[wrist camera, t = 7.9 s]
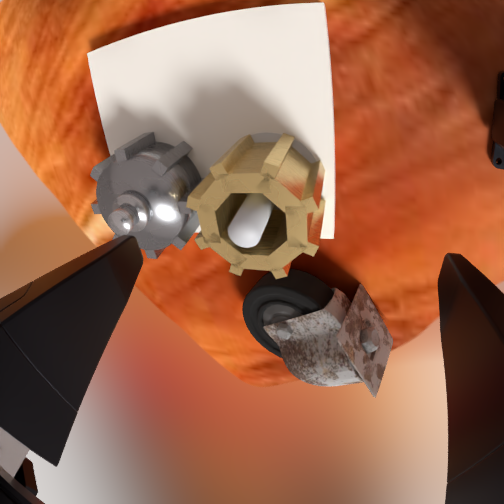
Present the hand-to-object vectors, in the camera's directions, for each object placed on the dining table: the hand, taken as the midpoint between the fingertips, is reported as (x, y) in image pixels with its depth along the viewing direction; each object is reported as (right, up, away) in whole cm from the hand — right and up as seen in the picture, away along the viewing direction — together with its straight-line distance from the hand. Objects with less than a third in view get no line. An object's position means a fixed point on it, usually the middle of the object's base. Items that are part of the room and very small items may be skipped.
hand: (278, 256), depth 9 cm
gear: (-7, +5, +14) cm, 16 cm away
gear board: (-3, +8, +12) cm, 15 cm away
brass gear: (0, +4, +11) cm, 12 cm away
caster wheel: (+5, -5, +19) cm, 20 cm away
